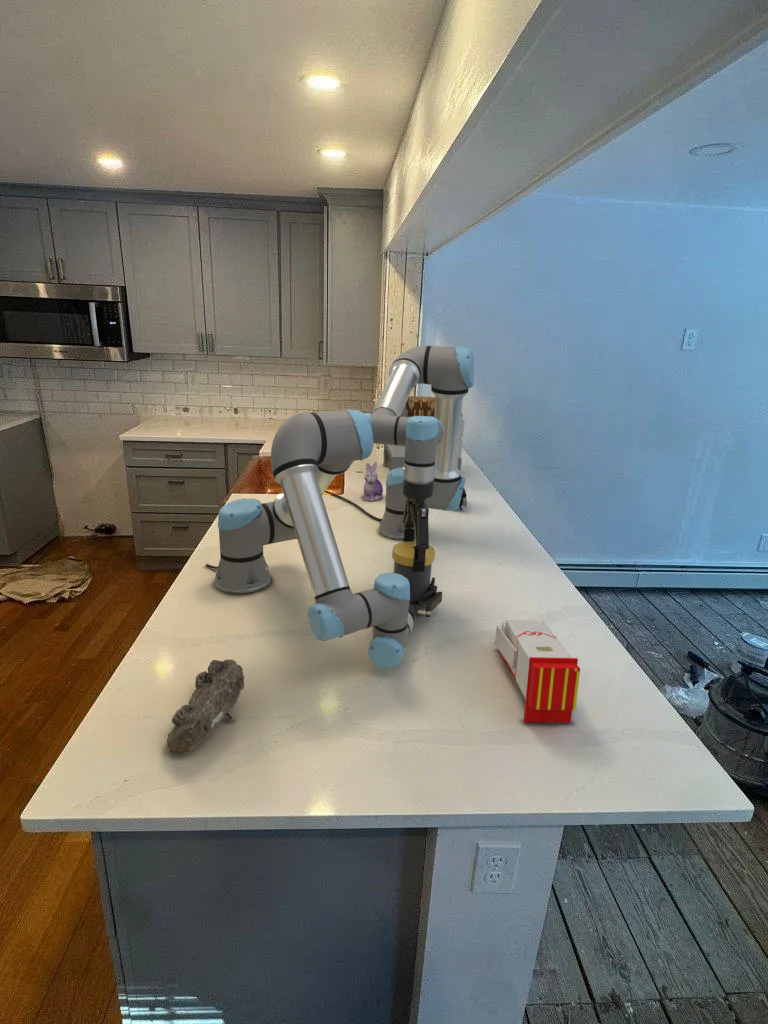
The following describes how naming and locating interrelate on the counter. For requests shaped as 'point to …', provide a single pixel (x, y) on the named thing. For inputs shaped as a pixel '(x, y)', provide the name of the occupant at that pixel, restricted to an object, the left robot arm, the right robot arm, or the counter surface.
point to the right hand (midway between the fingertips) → (413, 561)
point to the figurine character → (463, 500)
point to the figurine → (372, 484)
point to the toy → (540, 670)
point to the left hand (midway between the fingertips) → (414, 579)
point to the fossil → (206, 705)
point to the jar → (415, 579)
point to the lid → (410, 554)
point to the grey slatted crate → (413, 407)
